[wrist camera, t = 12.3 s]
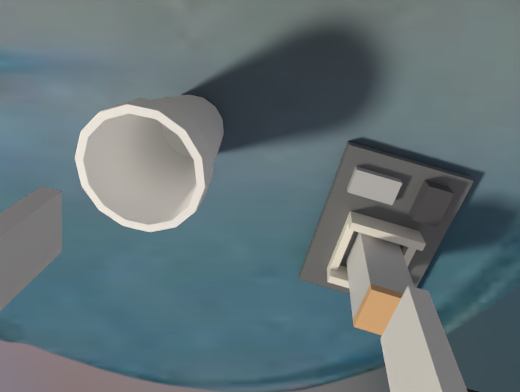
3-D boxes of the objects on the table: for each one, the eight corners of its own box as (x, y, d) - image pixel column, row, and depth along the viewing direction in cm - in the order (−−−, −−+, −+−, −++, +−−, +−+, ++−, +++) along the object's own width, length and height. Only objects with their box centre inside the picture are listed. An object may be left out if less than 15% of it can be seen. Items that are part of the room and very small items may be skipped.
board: (348, 141, 38) (350, 152, 35) (469, 176, 38) (484, 191, 34) (299, 272, 45) (298, 293, 41) (402, 303, 44) (408, 326, 41)
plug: (359, 228, 40) (371, 289, 31) (397, 240, 40) (420, 304, 31) (346, 260, 42) (353, 326, 33) (382, 271, 42) (400, 340, 33)
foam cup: (255, 148, 39) (229, 203, 28) (180, 185, 42) (127, 248, 30) (207, 59, 37) (154, 78, 25) (129, 105, 39) (49, 141, 28)
